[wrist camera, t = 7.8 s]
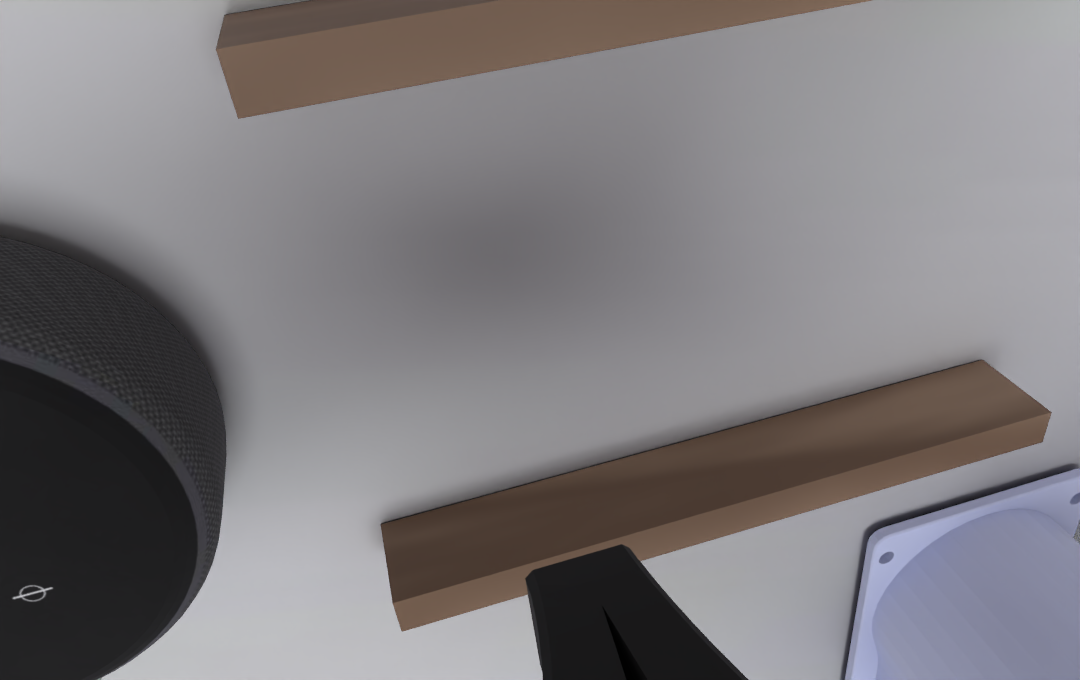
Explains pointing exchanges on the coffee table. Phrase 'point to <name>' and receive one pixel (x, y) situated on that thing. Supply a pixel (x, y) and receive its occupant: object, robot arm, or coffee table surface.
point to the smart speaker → (97, 470)
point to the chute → (654, 476)
